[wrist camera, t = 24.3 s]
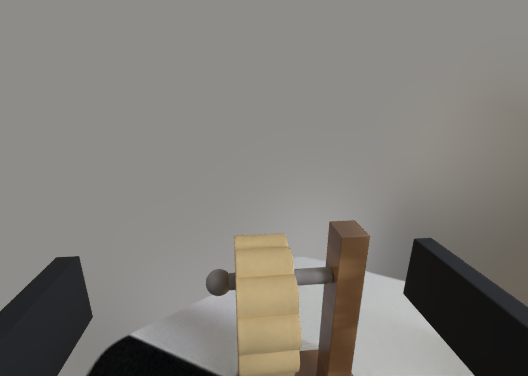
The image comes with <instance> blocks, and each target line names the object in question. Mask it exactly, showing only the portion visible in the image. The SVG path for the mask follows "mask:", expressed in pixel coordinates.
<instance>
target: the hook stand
mask: <svg viewBox="0 0 528 376" xmlns="http://www.w3.org/2000/svg"><path fill="white" fill-rule="evenodd" d="M369 240H370V235H368V234H367V232H366V231H364V229H363V228H362V227H361V226H360V225H359V224H358V223H357V222H356V221H334V222H333V221H332V222H330V223H329V235H328V246H327V258H326V267H320V268H304V269H294V275H295V277H296V280H297V285H312V284H324V293H323V304H322V316H321V327H320V339H319V349H318V350H308V351H299V354H300V368H299V371H298V372H295V375H294V376H353V374H352V372H351V370H352V363H353V356H354V348H355V341H356V334H357V327H358V319H359V312H360V305H361V298H362V290H363V283H364V276H365V268H366V261H367V254H368V247H369ZM206 287H207V290H208V291H209V292H210V293H211V294H212V295H215V296H222V295H224V294H226V293H227V292H228V291H229V290H236V275H235V273H228V272H227V271H225V270H222V269H217V270H214V271H212V272H211V273H210V274H209V275H208V277H207V279H206Z"/></svg>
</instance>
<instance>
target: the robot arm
mask: <svg viewBox="0 0 528 376" xmlns="http://www.w3.org/2000/svg"><path fill="white" fill-rule="evenodd" d="M403 294H404V295H405V296H406V297H407V298H408V300H409V301H410V302H411V303H412V304H413V305H414V306H415V308H416V309H417V310H418V311H419V312H420V313H421V314H422V316H423V317H424V318H425V319H426V320H427V321H428V322H429V324H430V325H431V326H432V327H433V328H434V329H435V331H436V332H437V333H438V334H439V335H440V336H441V337H442V339H443V340H444V341H445V342H446V343H447V344H448V345H449V347H450V348H451V349H452V350H453V351H454V352H455V353H456V355H457V356H458V357H459V358H460V359H461V360H462V362H463V363H464V364H465V365H466V366H467V367H468V368H469V370H470V371H471V372H472V373H473V374H474V375H475V376H528V307H527V306H525V305H524V304H523V303H521V302H520V301H518V300H517V299H516V298H514V297H513V296H512V295H510V294H509V293H507V292H506V291H504V290H503V289H502V288H500V287H499V286H498V285H496V284H495V283H493V282H492V281H490V280H489V279H488V278H486V277H485V276H484V275H482V274H481V273H479V272H478V271H476V270H475V269H474V268H472V267H471V266H469V265H468V264H467V263H465V262H464V261H463V260H461V259H460V258H458V257H457V256H456V255H454V254H453V253H451V252H450V251H449V250H447V249H446V248H444V247H443V246H442V245H440V244H439V243H438V242H436V241H435V240H433V239H432V238H419V239H414V242H413V247H412V253H411V257H410V262H409V267H408V272H407V277H406V282H405V287H404V292H403ZM92 317H93V316H92V311H91V307H90V302H89V298H88V293H87V289H86V285H85V280H84V276H83V272H82V267H81V263H80V258H79V256H75V257H57V258H55V259H54V260H53V261H52V262H51V263H50V264H49V265H48V266H47V267H46V268H45V269H44V270H43V271H42V272H41V273H40V274H39V275H38V276H37V277H36V278H35V279H33V280H32V281H31V282H30V283H29V284H28V285H27V286H26V287H25V288H24V289H23V290H22V291H21V292H20V293H19V294H18V295H17V296H16V297H15V298H14V299H13V300H12V301H11V302H10V303H9V304H7V305H6V306H5V307H4V308H3V309H2V310H1V311H0V376H57V375H58V374H59V372H60V370H61V369H62V367H63V365H64V364H65V362H66V361H67V359H68V357H69V356H70V354H71V352H72V350H73V349H74V347H75V346H76V344H77V342H78V341H79V339H80V337H81V336H82V334H83V332H84V330H85V329H86V327H87V326H88V324H89V322H90V321H91V319H92Z"/></svg>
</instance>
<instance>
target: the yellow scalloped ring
mask: <svg viewBox="0 0 528 376" xmlns="http://www.w3.org/2000/svg"><path fill="white" fill-rule="evenodd" d="M234 239H235V240H234V241H235V242H234V243H235V275H236V311H237V343H238V374H239V376H294V375H295V372H298V371H299V368H300V354H299V349H300V348H301V342H302V334H301V323H300V317H299V291H298V285H297V280H296V277H295V275H294V263H293V257H292V253H291V250H290V248H289V247H288V245H287V239H286V236H285V234H284V233H282V234H262V235H261V234H260V235H242V236H234Z"/></svg>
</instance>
